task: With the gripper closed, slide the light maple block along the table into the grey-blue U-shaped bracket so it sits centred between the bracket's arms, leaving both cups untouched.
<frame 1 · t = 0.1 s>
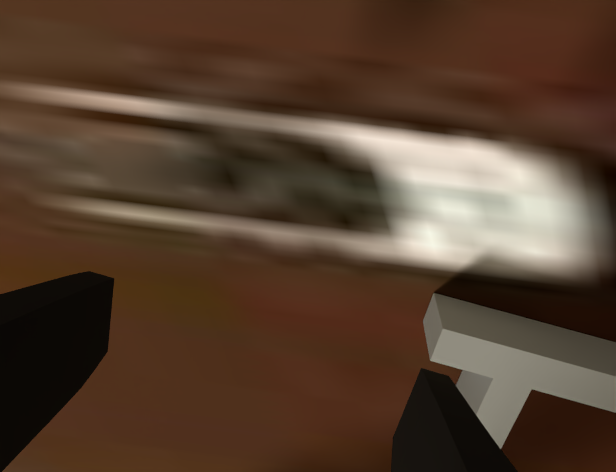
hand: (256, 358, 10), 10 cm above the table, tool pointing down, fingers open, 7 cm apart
bracket: (577, 451, 22), on the table
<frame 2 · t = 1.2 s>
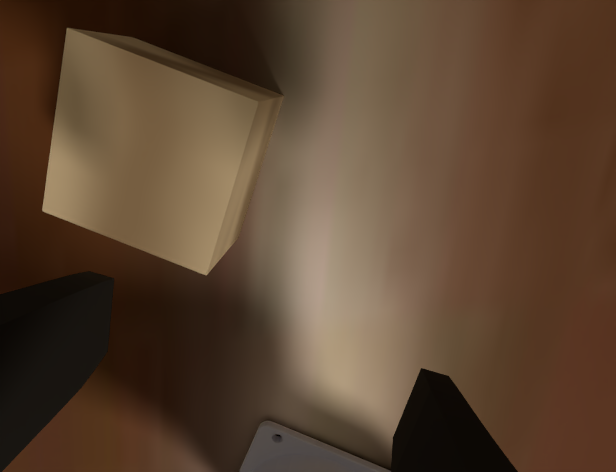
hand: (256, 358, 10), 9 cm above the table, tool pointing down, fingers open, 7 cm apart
maple block: (190, 142, 18), on the table
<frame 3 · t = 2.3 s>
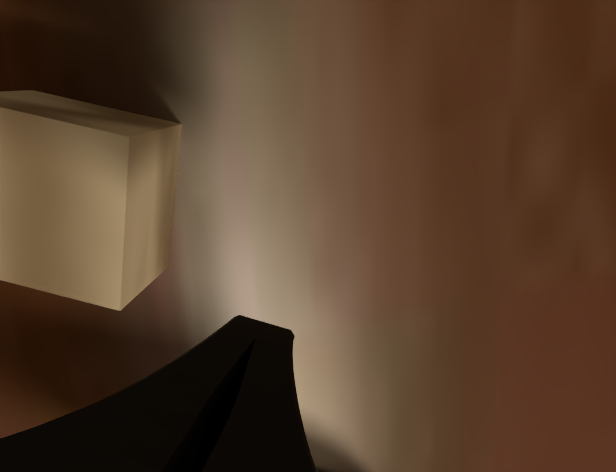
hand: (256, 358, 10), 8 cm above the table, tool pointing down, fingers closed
maple block: (106, 181, 18), on the table
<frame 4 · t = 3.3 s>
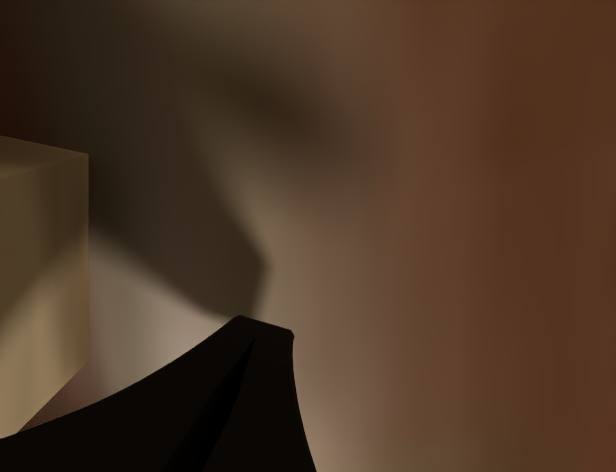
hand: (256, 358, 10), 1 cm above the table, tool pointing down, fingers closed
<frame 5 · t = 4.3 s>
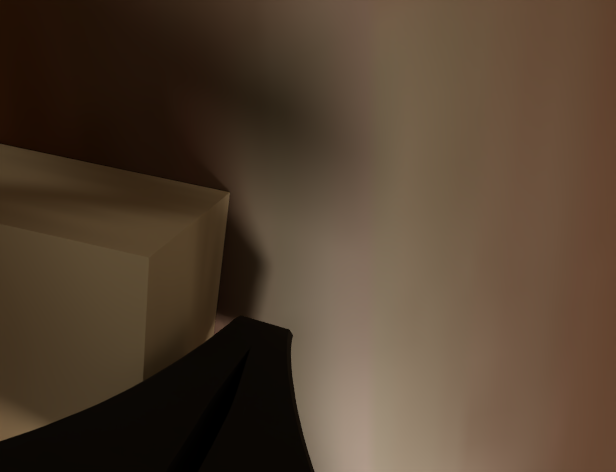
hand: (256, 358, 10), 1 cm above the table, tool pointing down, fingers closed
maple block: (106, 278, 12), on the table, touching gripper
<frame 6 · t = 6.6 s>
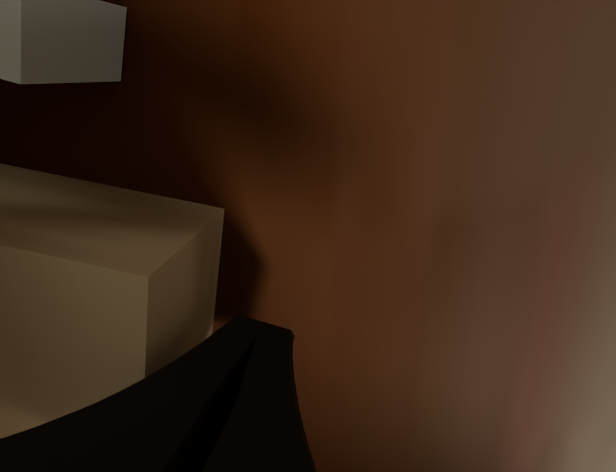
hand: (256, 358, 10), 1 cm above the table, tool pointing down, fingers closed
maple block: (109, 290, 12), on the table
bracket: (122, 283, 12), on the table
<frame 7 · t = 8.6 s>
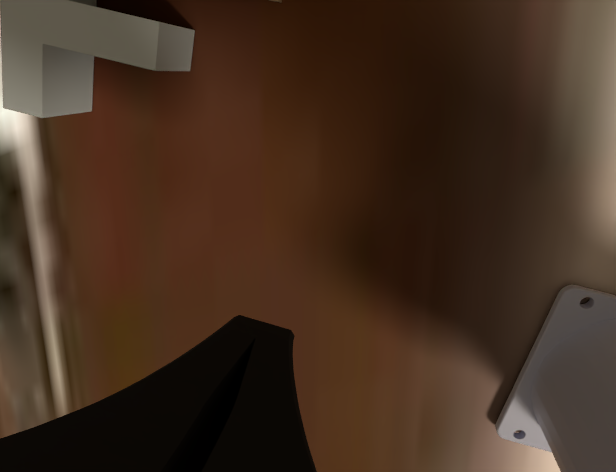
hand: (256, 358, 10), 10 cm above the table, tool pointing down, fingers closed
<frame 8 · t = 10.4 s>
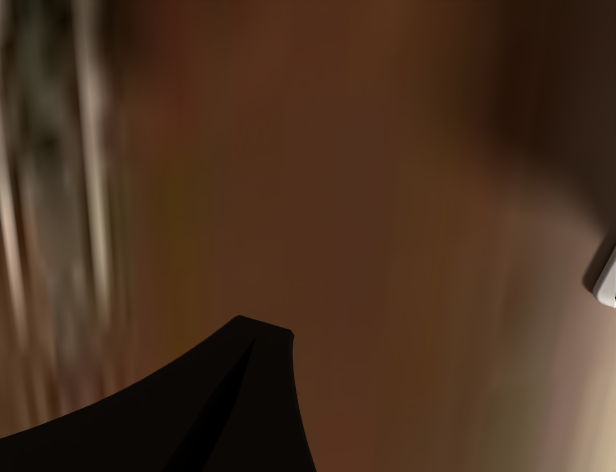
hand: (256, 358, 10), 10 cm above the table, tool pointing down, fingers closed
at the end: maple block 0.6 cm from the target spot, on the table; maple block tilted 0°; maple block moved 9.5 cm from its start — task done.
